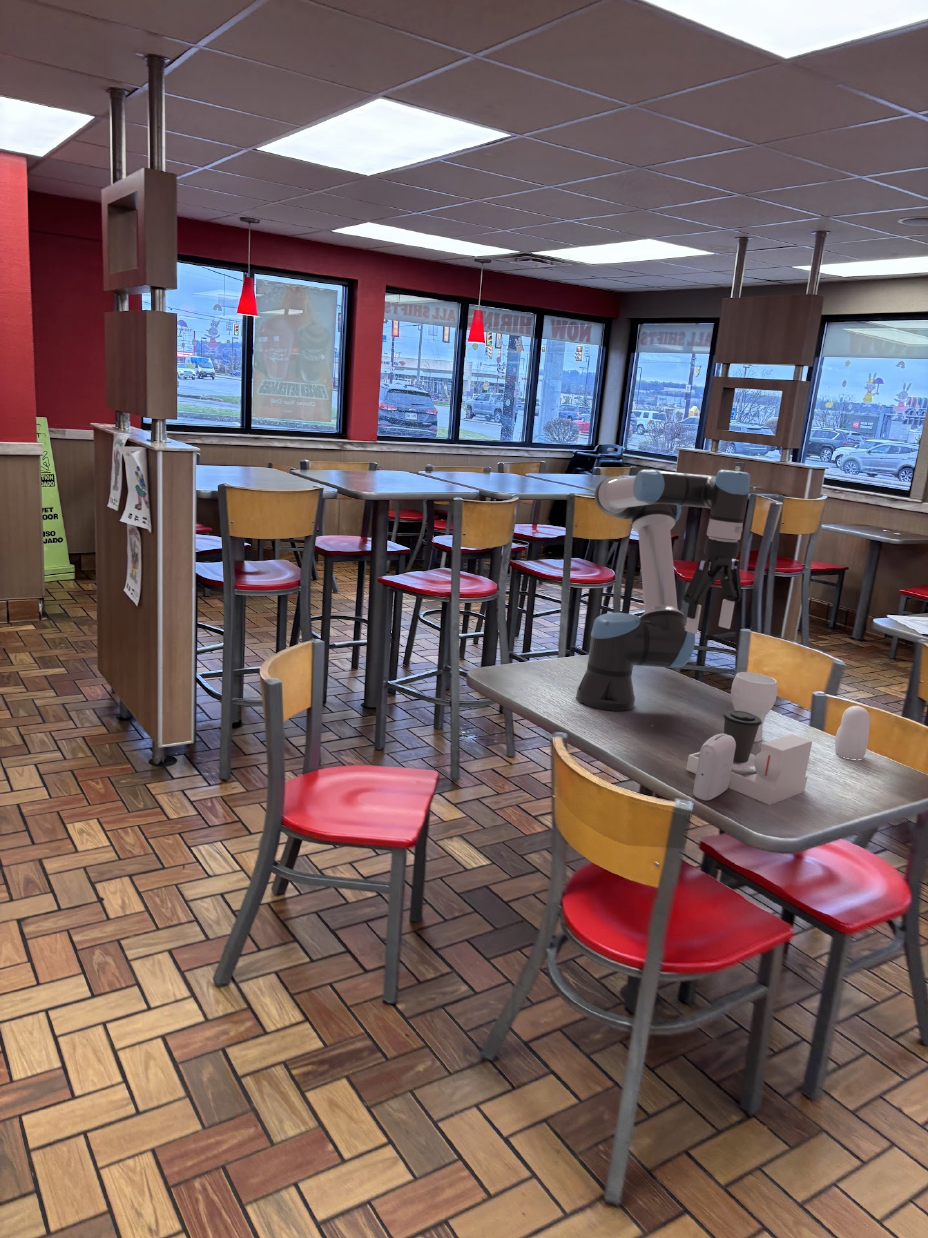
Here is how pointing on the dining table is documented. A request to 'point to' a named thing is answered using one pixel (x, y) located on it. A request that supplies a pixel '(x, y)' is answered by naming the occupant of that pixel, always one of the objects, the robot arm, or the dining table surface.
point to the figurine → (853, 733)
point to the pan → (745, 766)
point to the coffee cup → (741, 732)
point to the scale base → (772, 770)
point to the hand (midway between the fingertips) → (707, 629)
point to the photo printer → (714, 767)
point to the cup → (754, 696)
